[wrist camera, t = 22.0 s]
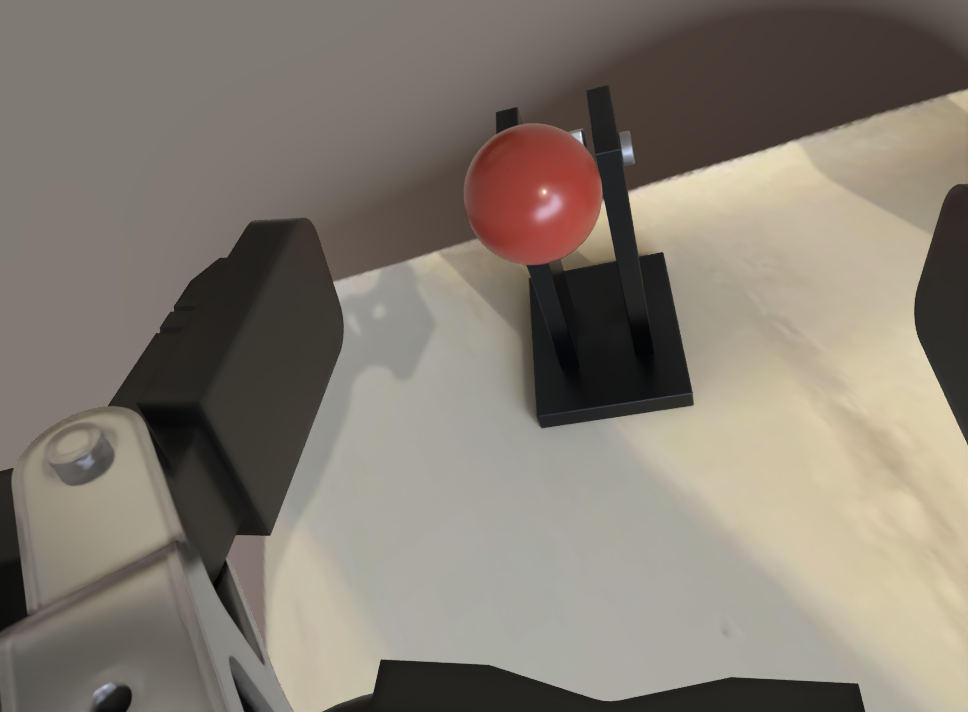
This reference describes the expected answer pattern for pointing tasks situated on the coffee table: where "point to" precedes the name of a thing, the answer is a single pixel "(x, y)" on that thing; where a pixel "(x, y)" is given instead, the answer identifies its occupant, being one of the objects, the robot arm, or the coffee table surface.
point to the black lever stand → (605, 309)
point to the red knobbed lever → (533, 193)
